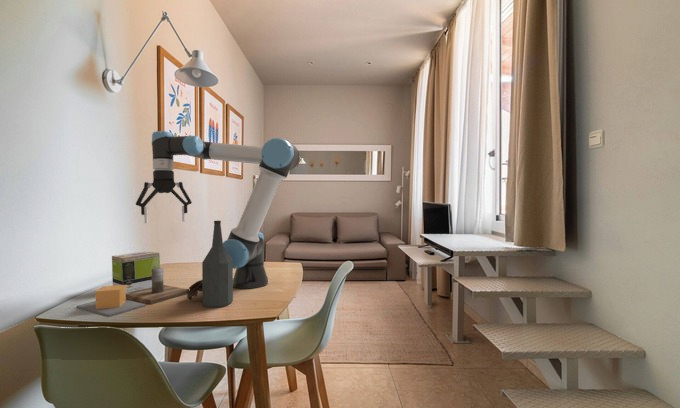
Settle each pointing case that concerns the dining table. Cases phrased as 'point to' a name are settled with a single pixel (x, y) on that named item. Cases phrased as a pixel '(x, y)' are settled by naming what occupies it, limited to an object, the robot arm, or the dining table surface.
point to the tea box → (134, 270)
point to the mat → (111, 311)
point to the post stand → (156, 290)
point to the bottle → (217, 273)
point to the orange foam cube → (110, 296)
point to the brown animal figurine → (194, 289)
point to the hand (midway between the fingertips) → (165, 222)
